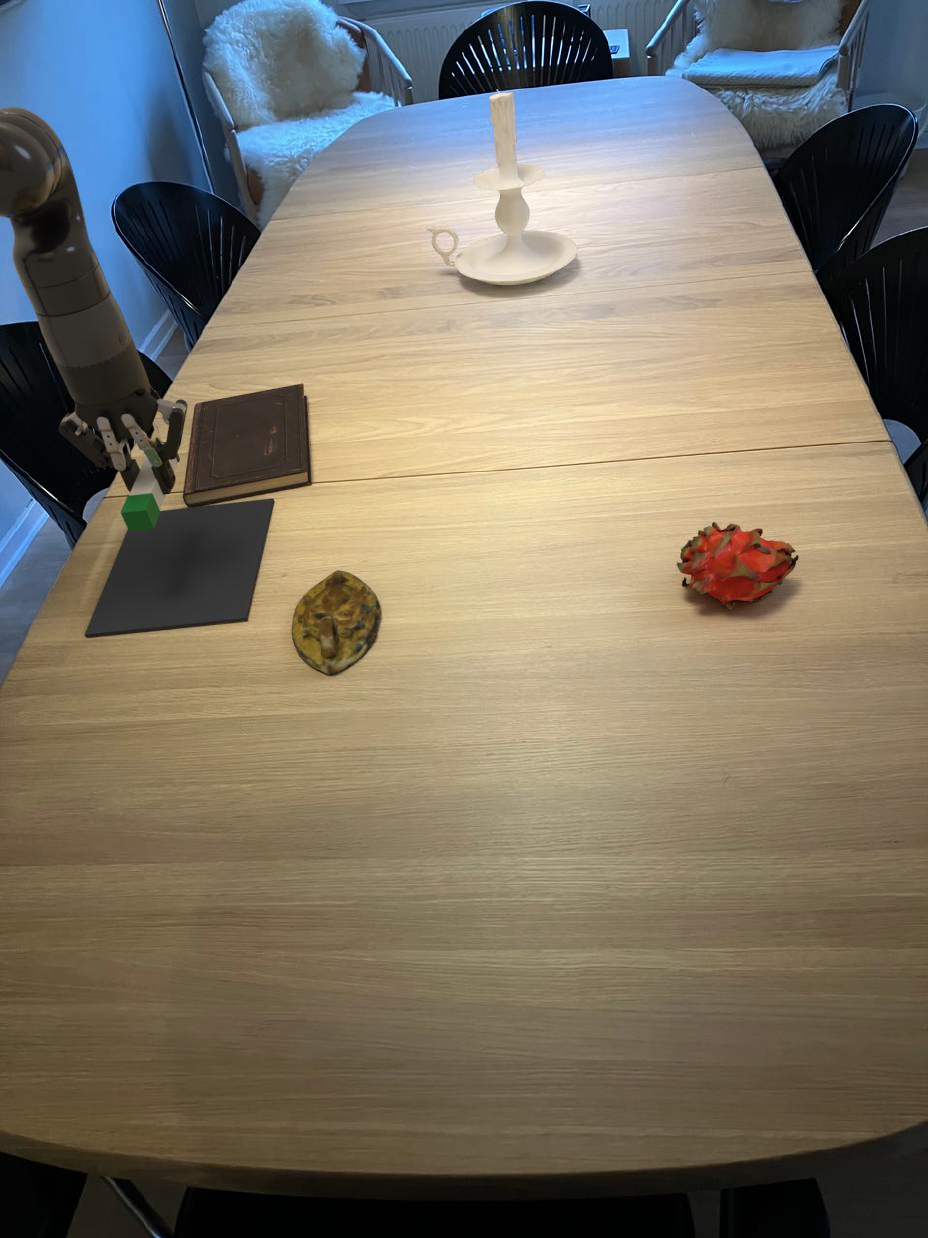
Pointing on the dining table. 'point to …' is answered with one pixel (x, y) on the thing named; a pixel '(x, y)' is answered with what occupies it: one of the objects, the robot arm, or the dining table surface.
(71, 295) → the robot arm
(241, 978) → the dining table surface
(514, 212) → the candlestick
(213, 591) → the mat
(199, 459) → the hardcover book
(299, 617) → the seal
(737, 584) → the dragon fruit
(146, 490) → the marker
